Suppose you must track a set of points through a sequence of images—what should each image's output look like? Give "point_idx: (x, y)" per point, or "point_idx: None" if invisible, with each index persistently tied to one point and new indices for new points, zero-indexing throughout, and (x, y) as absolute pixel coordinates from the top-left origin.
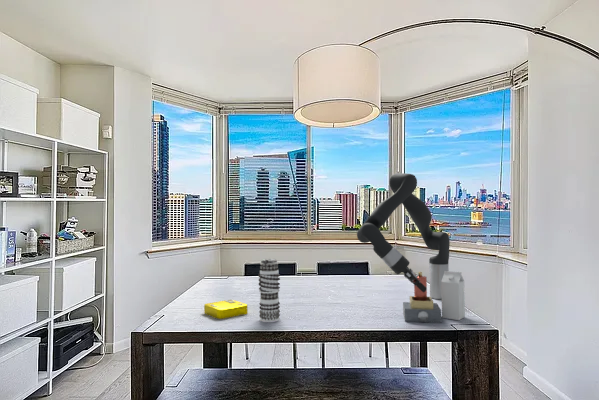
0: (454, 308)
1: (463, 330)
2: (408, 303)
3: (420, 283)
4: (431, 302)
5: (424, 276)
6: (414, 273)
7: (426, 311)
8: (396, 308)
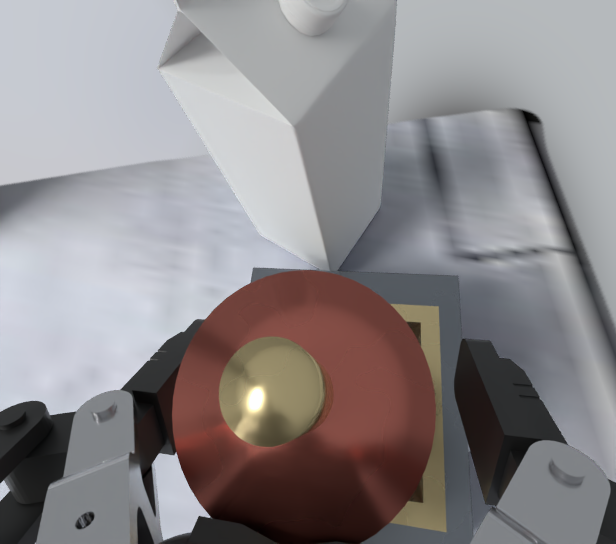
0: (370, 190)
1: (570, 220)
2: None
3: (531, 440)
4: (436, 323)
5: (249, 297)
6: (130, 526)
7: None
8: None
